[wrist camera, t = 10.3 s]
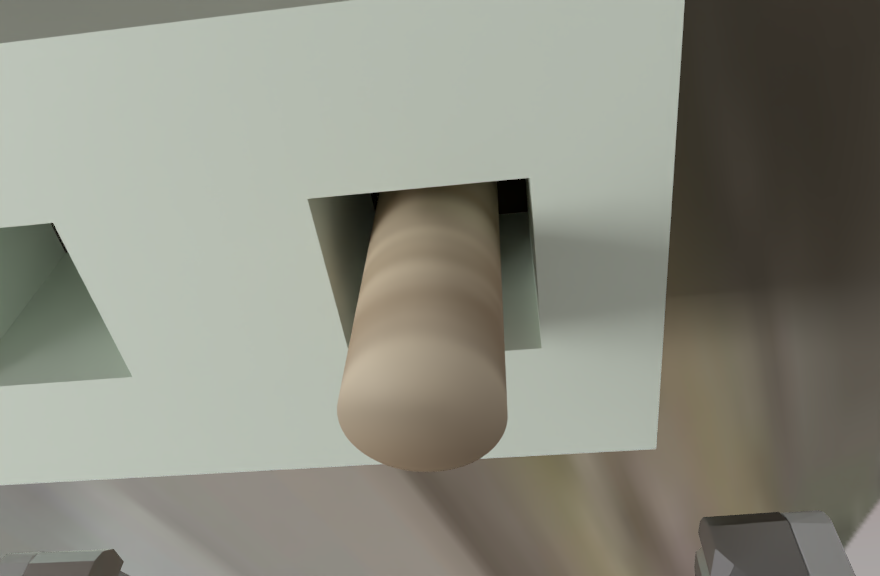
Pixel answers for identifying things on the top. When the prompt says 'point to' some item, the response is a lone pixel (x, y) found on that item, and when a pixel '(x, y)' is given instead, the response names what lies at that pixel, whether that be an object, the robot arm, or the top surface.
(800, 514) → the robot arm
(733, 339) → the top surface
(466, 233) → the peg
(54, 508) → the top surface
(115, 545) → the top surface
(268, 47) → the hole block
